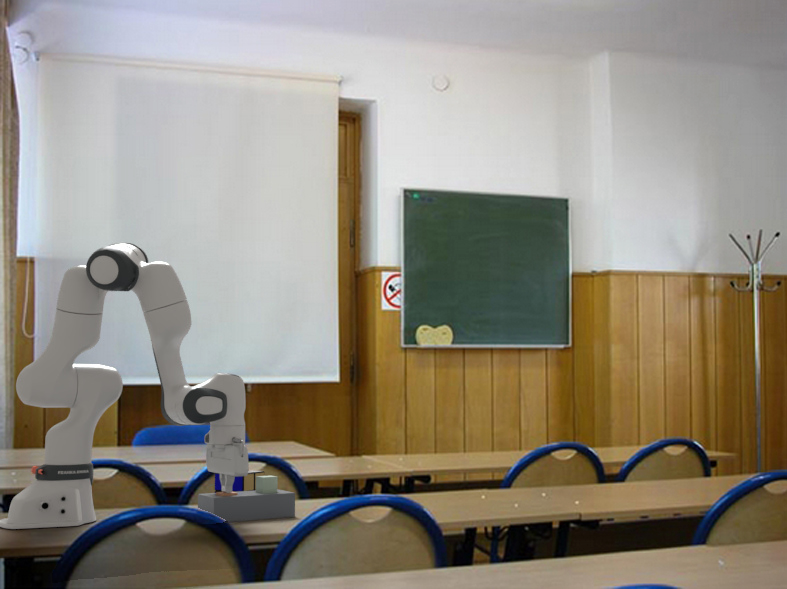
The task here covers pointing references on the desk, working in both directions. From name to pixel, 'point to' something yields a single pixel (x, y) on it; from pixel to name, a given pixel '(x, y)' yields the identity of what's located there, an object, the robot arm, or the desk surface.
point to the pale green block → (266, 484)
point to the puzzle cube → (240, 482)
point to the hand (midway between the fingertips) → (226, 492)
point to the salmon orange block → (226, 493)
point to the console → (249, 505)
